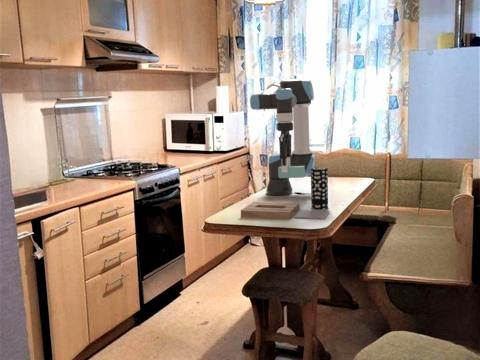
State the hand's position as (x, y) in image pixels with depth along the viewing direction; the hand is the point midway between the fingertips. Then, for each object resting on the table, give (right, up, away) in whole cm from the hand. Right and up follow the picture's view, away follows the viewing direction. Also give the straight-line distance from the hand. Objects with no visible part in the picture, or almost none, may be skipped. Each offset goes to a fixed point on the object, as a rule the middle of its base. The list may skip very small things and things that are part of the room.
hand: (286, 171), depth 244 cm
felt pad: (+12, -21, 0) cm, 24 cm away
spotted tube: (+18, -18, +14) cm, 30 cm away
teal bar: (+3, -3, -1) cm, 4 cm away
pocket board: (-7, -20, +7) cm, 23 cm away
